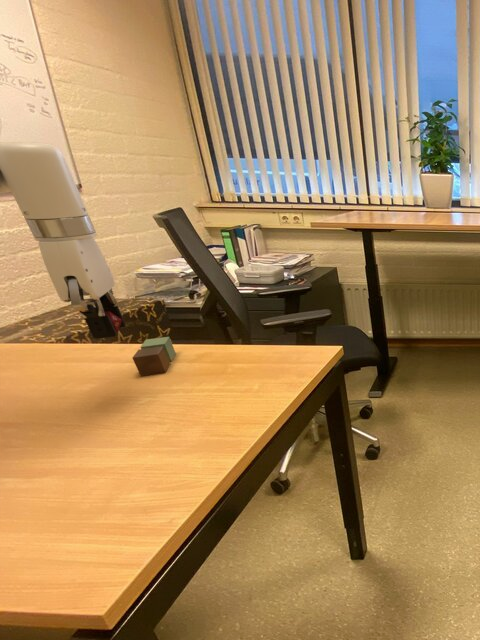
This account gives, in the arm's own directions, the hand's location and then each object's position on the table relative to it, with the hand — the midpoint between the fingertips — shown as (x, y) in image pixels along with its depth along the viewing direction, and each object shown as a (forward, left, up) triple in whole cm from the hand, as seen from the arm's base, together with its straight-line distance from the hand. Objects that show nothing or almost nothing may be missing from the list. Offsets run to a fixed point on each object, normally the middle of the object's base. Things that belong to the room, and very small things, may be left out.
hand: (110, 331), depth 77 cm
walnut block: (0, +12, -14) cm, 18 cm away
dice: (0, 0, -1) cm, 1 cm away
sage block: (0, +18, -14) cm, 22 cm away
